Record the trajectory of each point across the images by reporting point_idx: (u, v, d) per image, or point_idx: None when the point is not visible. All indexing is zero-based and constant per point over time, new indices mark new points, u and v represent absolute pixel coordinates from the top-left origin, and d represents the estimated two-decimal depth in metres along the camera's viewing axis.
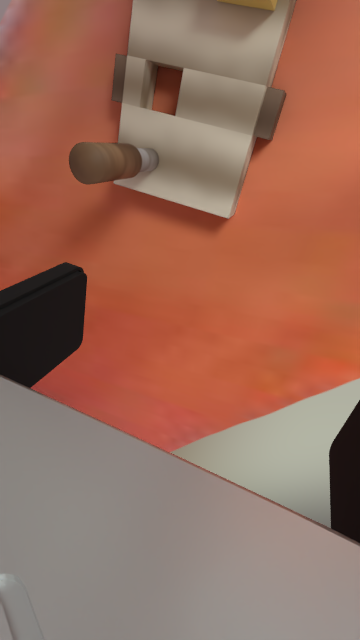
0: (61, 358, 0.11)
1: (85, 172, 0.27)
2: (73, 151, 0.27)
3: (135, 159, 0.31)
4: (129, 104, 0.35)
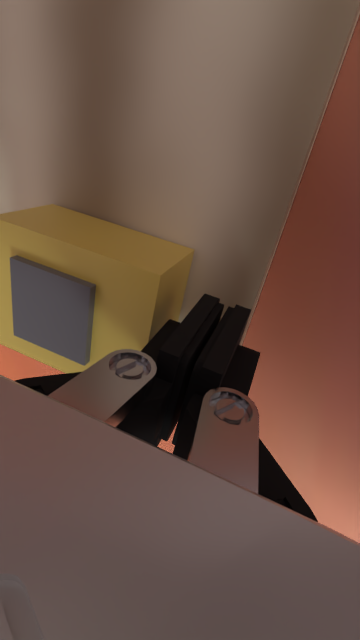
0: None
1: None
2: None
3: None
4: None
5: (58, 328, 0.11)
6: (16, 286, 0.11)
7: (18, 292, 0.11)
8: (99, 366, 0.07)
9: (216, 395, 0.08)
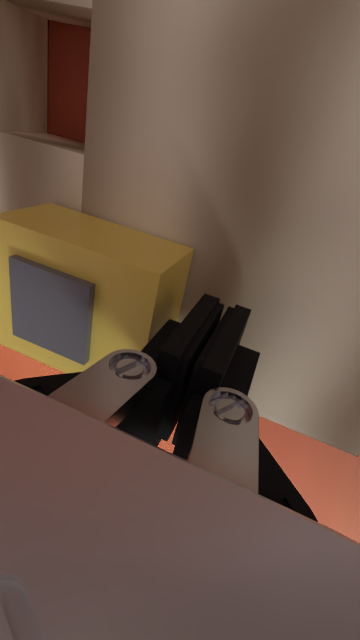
0: None
1: None
2: None
3: None
4: None
5: (57, 328, 0.11)
6: (15, 285, 0.11)
7: (17, 291, 0.11)
8: (99, 366, 0.07)
9: (216, 395, 0.08)
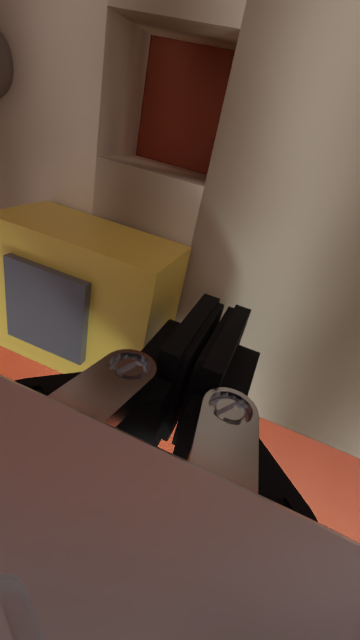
0: None
1: None
2: None
3: None
4: None
5: (53, 327, 0.11)
6: (9, 284, 0.11)
7: (12, 290, 0.11)
8: (99, 366, 0.07)
9: (216, 395, 0.08)
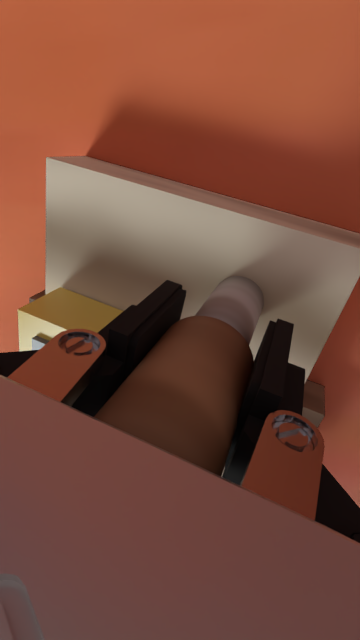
0: None
1: None
2: None
3: None
4: None
5: None
6: None
7: None
8: (49, 347, 0.08)
9: (276, 418, 0.07)
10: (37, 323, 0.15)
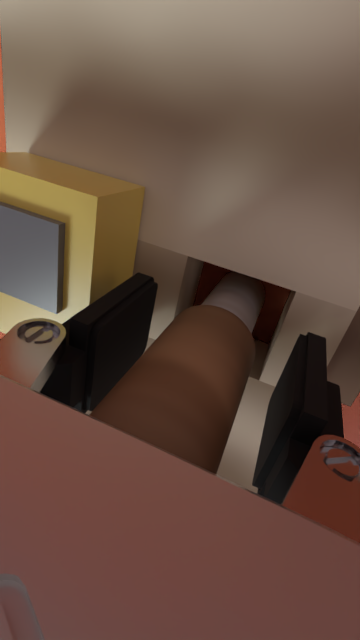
0: (131, 364, 0.12)
1: None
2: None
3: None
4: (330, 303, 0.11)
5: (7, 265, 0.11)
6: (30, 222, 0.10)
7: (25, 223, 0.10)
8: (8, 339, 0.08)
9: (323, 444, 0.07)
10: None
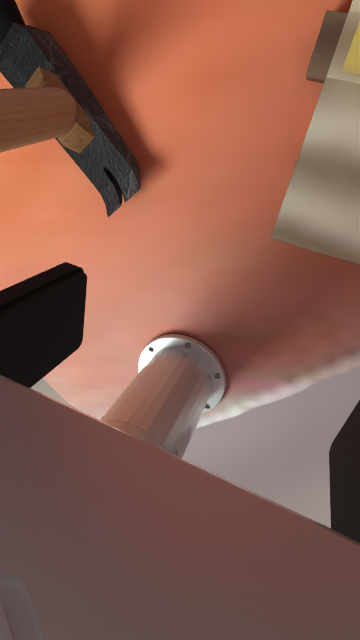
0: (61, 358, 0.11)
1: None
2: None
3: None
4: None
5: None
6: None
7: None
8: None
9: None
10: None
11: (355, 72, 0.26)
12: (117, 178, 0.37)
